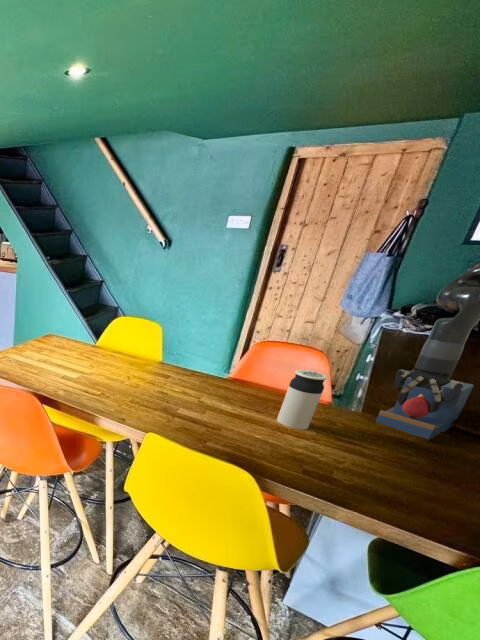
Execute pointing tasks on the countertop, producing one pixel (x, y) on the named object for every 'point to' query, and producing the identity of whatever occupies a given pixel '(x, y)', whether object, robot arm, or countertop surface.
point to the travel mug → (301, 399)
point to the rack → (431, 421)
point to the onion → (416, 407)
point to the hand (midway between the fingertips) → (415, 407)
